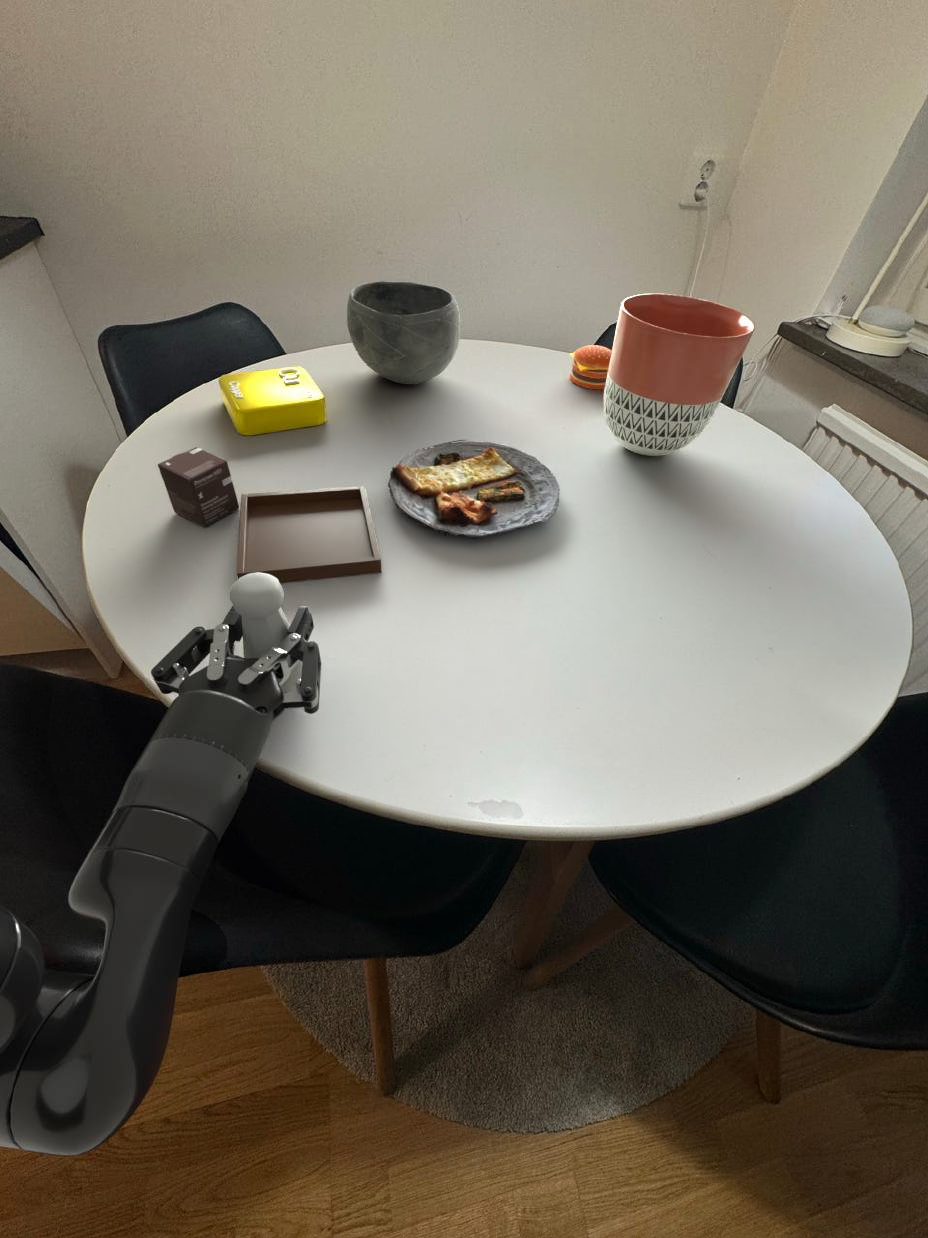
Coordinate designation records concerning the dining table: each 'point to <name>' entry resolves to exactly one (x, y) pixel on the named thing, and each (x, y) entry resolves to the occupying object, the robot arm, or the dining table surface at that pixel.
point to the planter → (670, 369)
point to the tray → (307, 534)
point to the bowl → (404, 329)
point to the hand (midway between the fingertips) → (276, 609)
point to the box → (199, 486)
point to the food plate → (473, 488)
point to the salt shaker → (262, 617)
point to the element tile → (272, 400)
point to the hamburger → (590, 366)
